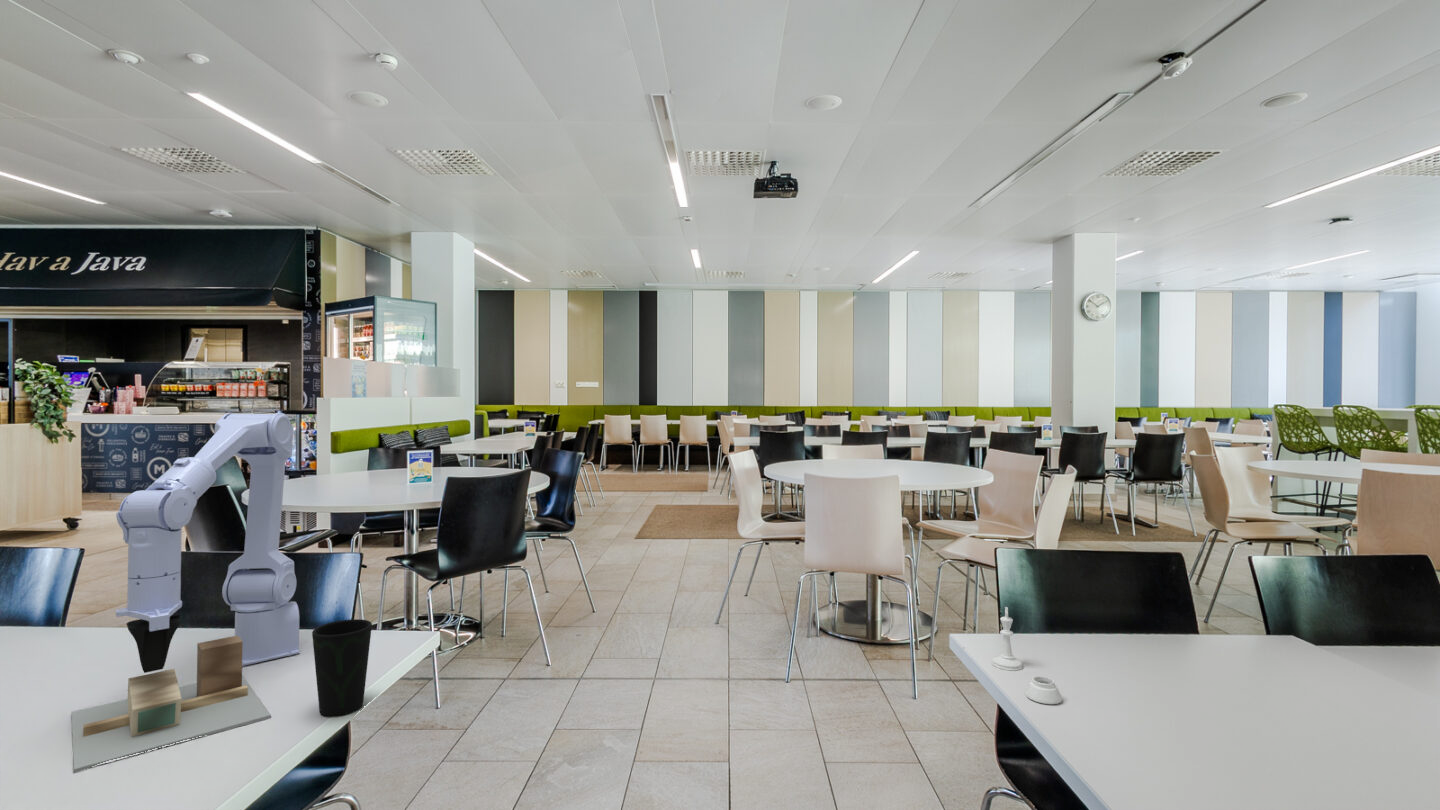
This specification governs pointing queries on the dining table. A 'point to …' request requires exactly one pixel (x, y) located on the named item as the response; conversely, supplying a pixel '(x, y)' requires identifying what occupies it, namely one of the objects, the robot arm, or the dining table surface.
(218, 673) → the walnut block
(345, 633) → the cup
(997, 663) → the chess piece
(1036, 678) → the white jar
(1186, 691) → the dining table surface
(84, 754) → the grey mat
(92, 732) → the oak rail
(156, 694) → the beech block
